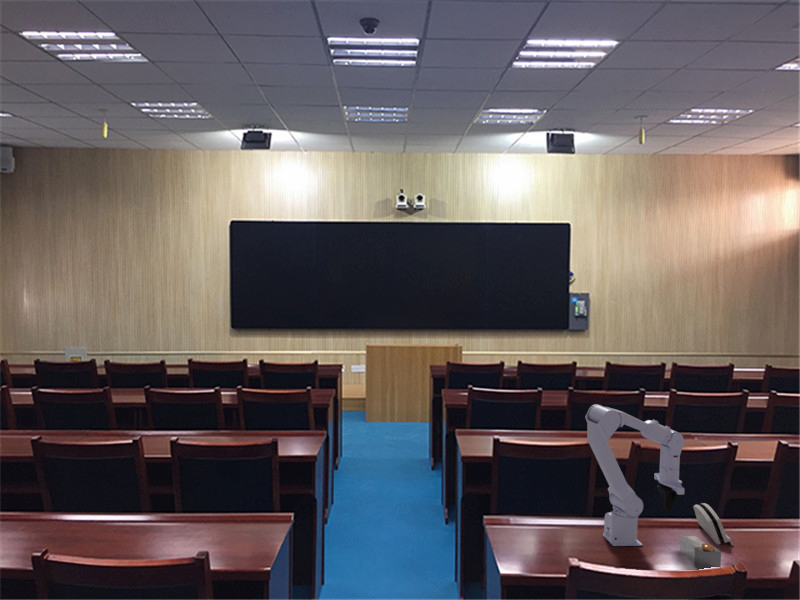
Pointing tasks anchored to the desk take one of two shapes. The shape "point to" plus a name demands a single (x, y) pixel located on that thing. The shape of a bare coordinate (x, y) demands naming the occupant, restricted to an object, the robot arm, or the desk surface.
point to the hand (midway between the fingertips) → (667, 508)
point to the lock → (689, 546)
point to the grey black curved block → (711, 523)
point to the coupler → (707, 556)
